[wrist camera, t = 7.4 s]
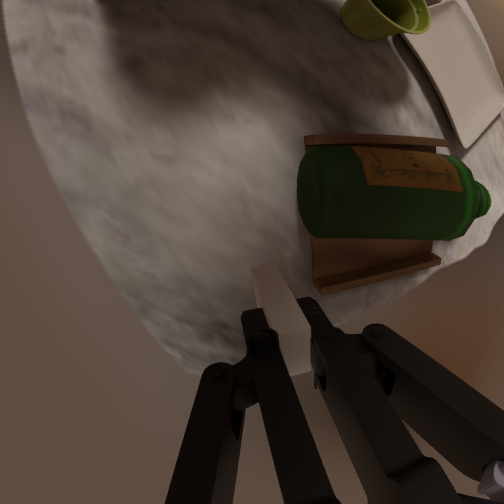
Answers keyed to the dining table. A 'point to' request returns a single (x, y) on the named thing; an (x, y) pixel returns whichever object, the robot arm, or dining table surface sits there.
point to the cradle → (369, 250)
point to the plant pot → (385, 17)
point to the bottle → (387, 194)
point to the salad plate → (459, 70)
